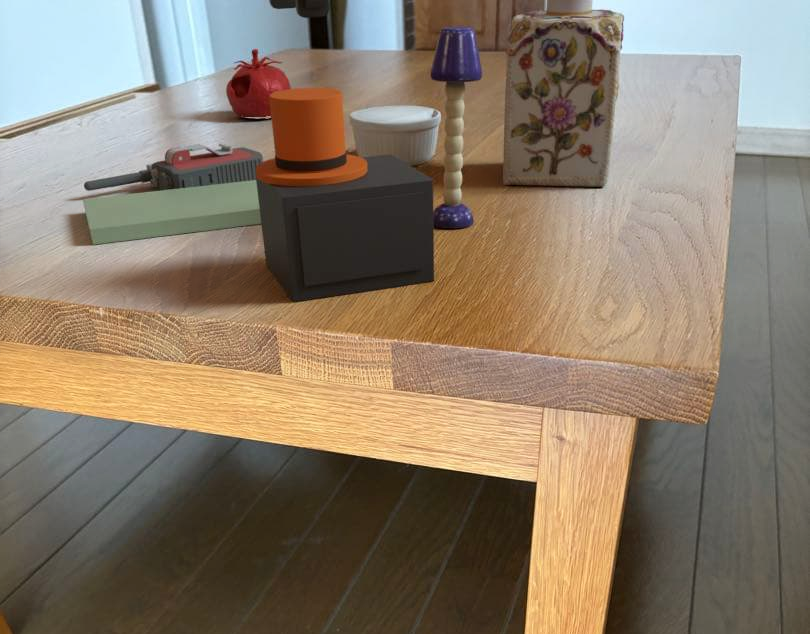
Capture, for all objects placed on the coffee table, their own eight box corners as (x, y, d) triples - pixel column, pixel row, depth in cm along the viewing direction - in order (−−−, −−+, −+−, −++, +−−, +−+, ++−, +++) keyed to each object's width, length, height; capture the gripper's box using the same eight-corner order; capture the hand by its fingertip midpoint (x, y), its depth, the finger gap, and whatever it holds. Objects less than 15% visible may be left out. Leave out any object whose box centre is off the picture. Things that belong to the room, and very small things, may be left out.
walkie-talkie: (241, 168, 109) (83, 197, 99) (236, 129, 106) (74, 155, 96) (277, 180, 103) (113, 213, 93) (273, 140, 100) (104, 169, 91)
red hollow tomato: (286, 108, 142) (280, 43, 137) (299, 119, 135) (293, 49, 129) (225, 114, 140) (216, 47, 135) (235, 124, 132) (226, 54, 127)
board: (92, 245, 84) (89, 229, 83) (85, 213, 93) (82, 199, 92) (296, 219, 89) (295, 204, 88) (271, 192, 99) (269, 178, 98)
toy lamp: (443, 214, 89) (442, 24, 80) (486, 218, 88) (491, 25, 78) (423, 227, 86) (420, 30, 76) (467, 231, 84) (470, 30, 74)
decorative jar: (611, 163, 105) (628, -15, 95) (608, 188, 96) (628, -6, 85) (510, 162, 107) (517, -13, 97) (499, 186, 98) (505, -4, 87)
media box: (293, 303, 70) (282, 197, 65) (266, 265, 78) (254, 169, 73) (435, 281, 73) (434, 180, 68) (394, 247, 81) (391, 154, 76)
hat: (269, 191, 67) (260, 107, 63) (246, 167, 74) (236, 90, 70) (382, 178, 69) (379, 96, 66) (349, 156, 76) (344, 81, 73)
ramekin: (433, 170, 105) (433, 122, 102) (342, 169, 107) (339, 121, 104) (447, 150, 114) (447, 105, 111) (362, 149, 116) (360, 105, 113)
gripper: (195, -268, 60) (230, 9, 69) (234, -312, 49) (269, 23, 58) (302, -266, 62) (322, 3, 71) (362, -309, 51) (377, 16, 60)
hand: (298, 12), depth 65 cm, fingers open, 8 cm apart
